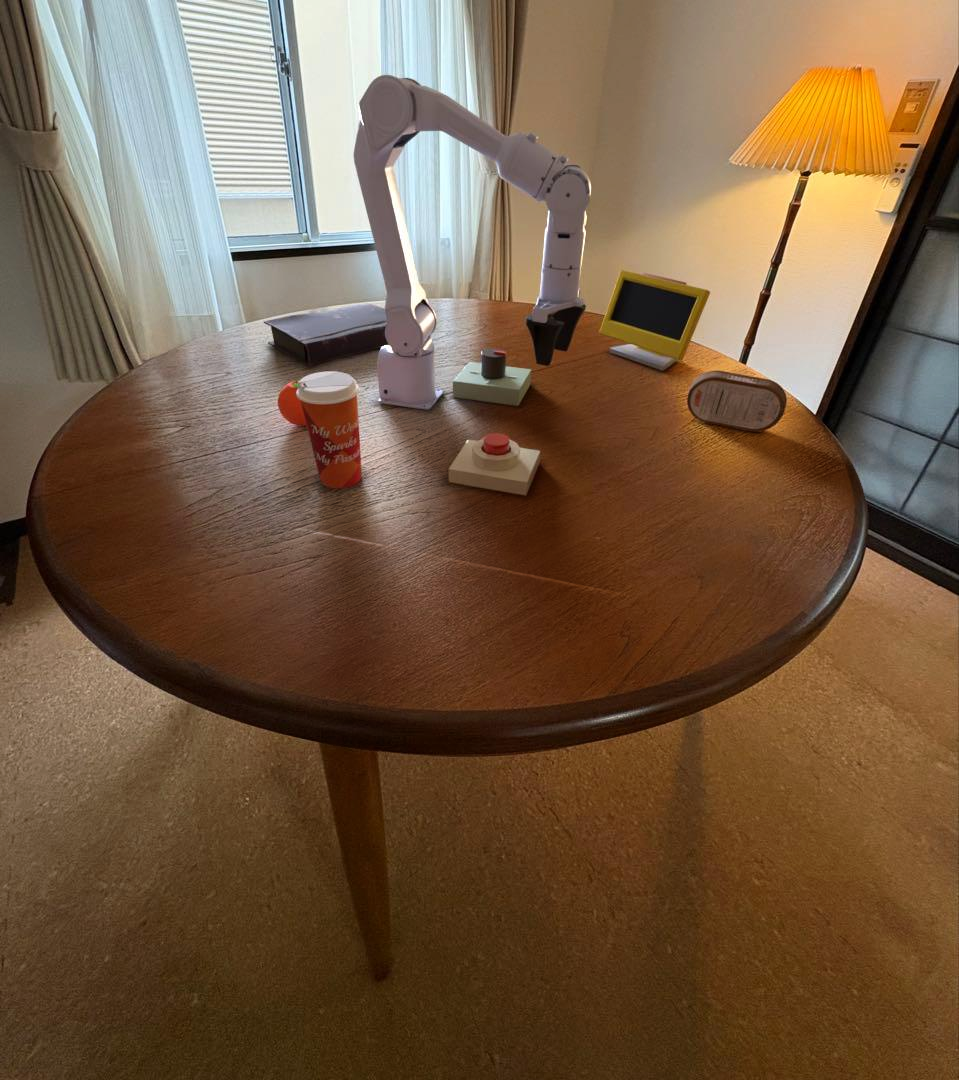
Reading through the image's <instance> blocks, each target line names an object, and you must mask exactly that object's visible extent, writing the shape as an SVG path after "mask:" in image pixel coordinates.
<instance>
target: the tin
mask: <svg viewBox="0 0 959 1080" xmlns="http://www.w3.org/2000/svg"><path fill="white" fill-rule="evenodd" d="M687 391H688V392H687V394H686V406H687V408H688V411H689V413H690V414H691V415H692V416H693V417H694V419H696V420H698V421H700V422H703V423H706V424H707V423H708V424H712V425H717V426H722V427H727V428H731V429H736V430H742V431H745V432H751V433H758V432H759V433H760V432H764V431H766V430H769V429H771V428H773V427H774V426H775V425H777V424H778V423H779V422H780V421H781V419H782V418H783V416H784V414H785V411H786V407H787V400H788V398H787V394H786V392H785V390H784V388H783V387H782V385H780V384H779V383H778V382H777V381H774V380H771V379H769V378H762V377H758V376H751V375H747V374H742V373H735V372H731V371H730V372H729V371H725V370H717V369H716V370H715V369H714V370H709V371H705V372H703V373H701V374H699V375H698V376H696V377H695V378H694V380H693V381H692V382H691V383H690V385H689V388H688V390H687Z"/></svg>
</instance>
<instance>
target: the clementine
mask: <svg viewBox="0 0 959 1080" xmlns="http://www.w3.org/2000/svg"><path fill="white" fill-rule="evenodd" d="M299 381H300V380H293V381H290V382H288V383H287V384H286V385H284V386H283V387H282V388H281V390H280V391H279V392H278V398H277V407H278V410H279V413H280V414H281V415H282V417H283V418H284V419H285V420H286V421H287V422H288V423H290V424H292V425H295V426H298V427H305V426H306V427H307V425H306V421H305V417H304V413H303V409H302V405H301V401H300V399H299V398H298V397H297V395H296V392H297V389H298V383H299Z"/></svg>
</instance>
